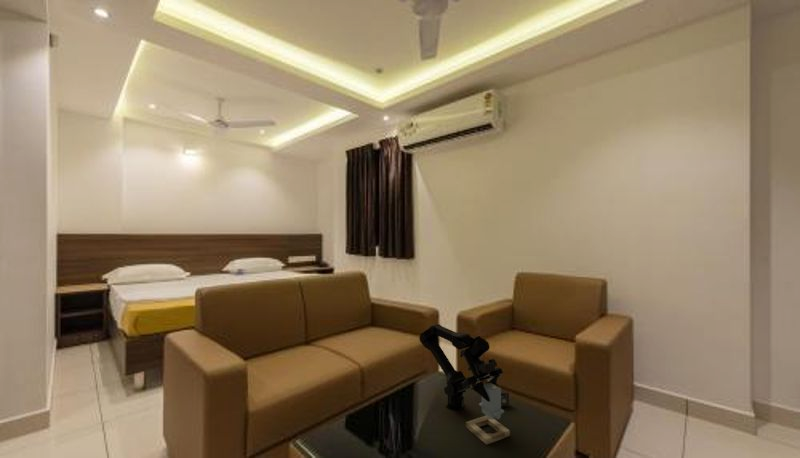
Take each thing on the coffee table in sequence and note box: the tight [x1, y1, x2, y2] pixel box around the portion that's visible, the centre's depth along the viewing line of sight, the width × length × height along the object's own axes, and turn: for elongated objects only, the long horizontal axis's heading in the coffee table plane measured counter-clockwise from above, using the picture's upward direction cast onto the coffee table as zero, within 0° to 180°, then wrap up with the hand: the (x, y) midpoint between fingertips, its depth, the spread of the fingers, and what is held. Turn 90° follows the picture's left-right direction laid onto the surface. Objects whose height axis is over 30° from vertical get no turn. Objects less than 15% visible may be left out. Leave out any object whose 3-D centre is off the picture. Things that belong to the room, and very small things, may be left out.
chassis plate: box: [465, 415, 511, 445], centre depth 140 cm, size 13×12×2 cm
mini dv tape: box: [501, 391, 510, 407], centre depth 159 cm, size 8×2×6 cm, turn 84°
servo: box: [478, 382, 505, 420], centre depth 140 cm, size 9×5×12 cm, turn 31°
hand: (493, 399), depth 139 cm, fingers closed on servo, 5 cm apart
